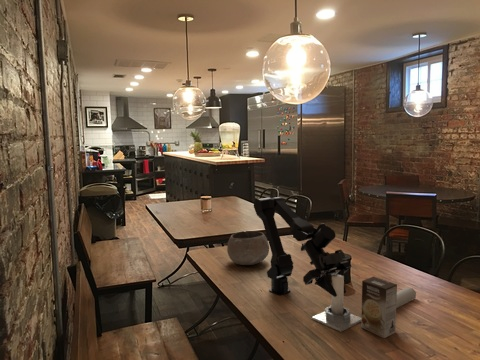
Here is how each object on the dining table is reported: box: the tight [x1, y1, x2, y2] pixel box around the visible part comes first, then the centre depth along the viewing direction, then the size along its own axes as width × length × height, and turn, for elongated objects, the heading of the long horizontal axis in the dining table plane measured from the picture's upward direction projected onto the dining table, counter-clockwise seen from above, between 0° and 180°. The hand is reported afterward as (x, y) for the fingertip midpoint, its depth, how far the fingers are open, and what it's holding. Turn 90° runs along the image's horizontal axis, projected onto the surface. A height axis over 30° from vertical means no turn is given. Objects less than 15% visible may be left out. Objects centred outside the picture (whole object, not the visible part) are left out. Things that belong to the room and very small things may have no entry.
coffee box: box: [360, 276, 398, 339], centre depth 127 cm, size 9×6×16 cm
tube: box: [396, 286, 417, 309], centre depth 145 cm, size 5×5×25 cm
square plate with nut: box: [311, 305, 362, 333], centre depth 135 cm, size 12×12×3 cm
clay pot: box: [226, 230, 270, 266], centre depth 197 cm, size 21×21×15 cm
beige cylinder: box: [330, 275, 345, 315], centre depth 134 cm, size 4×4×13 cm
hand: (340, 294), depth 133 cm, fingers closed on beige cylinder, 4 cm apart
